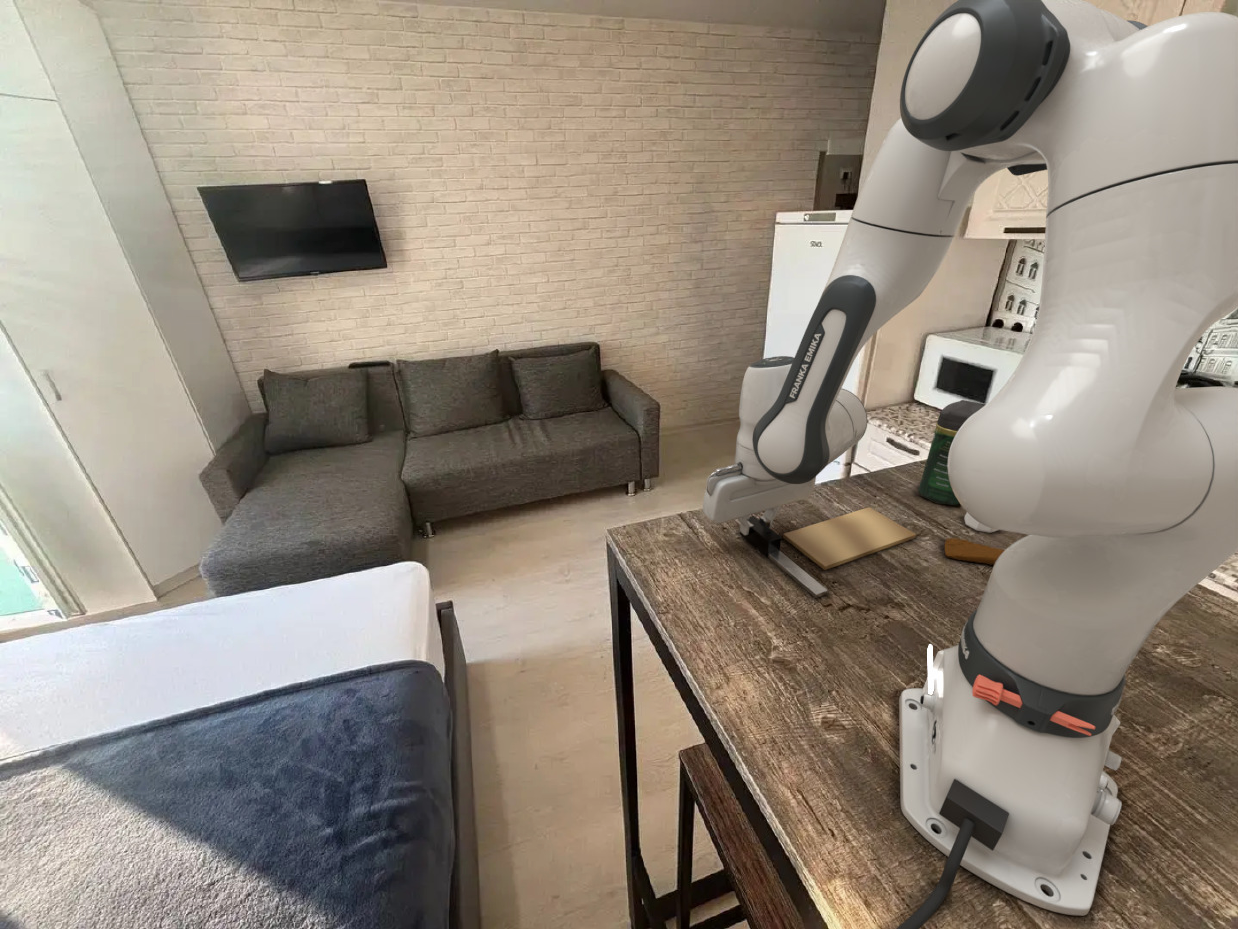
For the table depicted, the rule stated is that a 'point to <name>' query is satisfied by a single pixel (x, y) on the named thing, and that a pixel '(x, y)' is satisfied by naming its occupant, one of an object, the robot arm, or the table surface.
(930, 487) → the coffee jar
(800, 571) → the knife
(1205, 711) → the table surface
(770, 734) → the table surface
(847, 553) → the cutting board
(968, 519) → the pepper shaker
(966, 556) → the primitive tool
